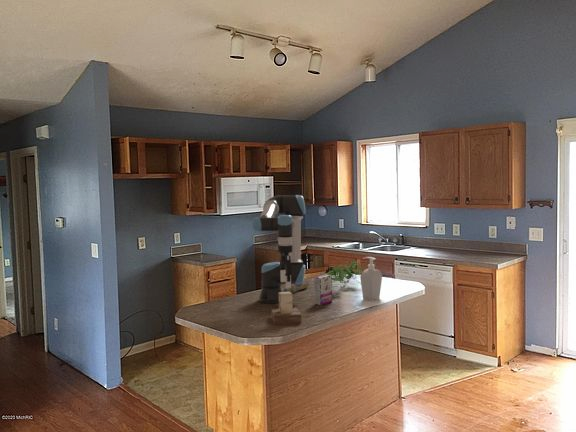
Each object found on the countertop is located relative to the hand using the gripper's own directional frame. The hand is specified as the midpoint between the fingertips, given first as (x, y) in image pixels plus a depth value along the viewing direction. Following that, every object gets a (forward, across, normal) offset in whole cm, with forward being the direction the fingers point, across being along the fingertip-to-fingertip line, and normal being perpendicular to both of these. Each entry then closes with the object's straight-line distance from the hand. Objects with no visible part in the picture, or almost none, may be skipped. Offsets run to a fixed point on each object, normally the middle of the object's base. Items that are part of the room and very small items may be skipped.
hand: (285, 284), depth 269 cm
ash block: (+14, 0, 0) cm, 14 cm away
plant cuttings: (+20, -59, +55) cm, 83 cm away
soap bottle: (+20, -34, +60) cm, 71 cm away
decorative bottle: (+20, -66, +19) cm, 71 cm away
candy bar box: (+20, -30, +29) cm, 46 cm away
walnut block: (+19, 0, 0) cm, 19 cm away
